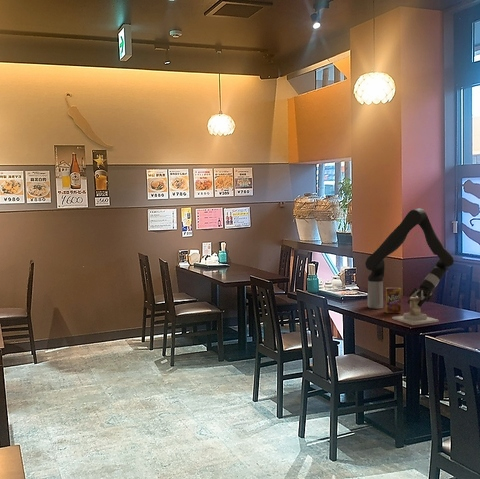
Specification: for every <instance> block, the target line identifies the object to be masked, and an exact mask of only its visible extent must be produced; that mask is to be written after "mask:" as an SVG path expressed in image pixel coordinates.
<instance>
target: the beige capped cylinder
mask: <svg viewBox="0 0 480 479" xmlns="http://www.w3.org/2000/svg"><path fill="white" fill-rule="evenodd" d="M409 299H410V304H409V313H410V315H413V316H417V315H421V313H422V312H421V311H422V309H421V307H422V306H421V307H419V306H418V305H417V304H418V303H419V301H420V300H422V298H421V297H415V296H414V297H410V296H409Z"/></svg>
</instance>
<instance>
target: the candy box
mask: <svg viewBox="0 0 480 479" xmlns="http://www.w3.org/2000/svg"><path fill="white" fill-rule="evenodd" d="M401 299H402V288H401V287H385V309H384V310H385V314H386V313H387V314H389V313H390V314H401V313H402V312H401V311H402V306H401V305H402V300H401Z"/></svg>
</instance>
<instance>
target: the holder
mask: <svg viewBox="0 0 480 479" xmlns="http://www.w3.org/2000/svg"><path fill="white" fill-rule="evenodd" d="M391 319H392V320H394V321H398V322H400V323H405V324H407V325H411V326H418V325H425V324H432V323H439V319H437V318H433V317H430V316H428V315H427V314H426V313H422V312H421V315H417V316H413V315H410V312H404V313H403V315H398V316H397V315H396V316H392V317H391Z"/></svg>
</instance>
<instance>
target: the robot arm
mask: <svg viewBox="0 0 480 479" xmlns="http://www.w3.org/2000/svg"><path fill="white" fill-rule="evenodd" d="M416 226H419V227H420V228H421V230H422V232H423V235H424V238H425V241H426V244H427V245H428V246H427V247H429V249H430V251H431V253H432V254H433V255H435V256H437V257H438V258H439V259H438V260H437V262H436V264H435V265H434V267H433V268H432V269H431V271H430V272H429V273H428V274H427V275H426V277H425V278H424V279H423V280H422V282H421V283H420V284H419V288H418V289H417V288H416V287H415V288H413V290H412V291H411V292H410V293H409V295H408V296H409V299H408V300H407V304H408V305H410V297H419V298H421V300H420V301H419V303H418V304H417V305H418V306H419V307H422V306H423V304H424V303H425V302H426V303H428V302H429V301H430V300H431V298H432V296H433V295H434V294H433V291H434V290H435V288H436V287H437V286H438V285H439V282H440V281H441V279H443V276H444V275H445V272H446V271H447V270H448V269H449V268H450V267H452V266H453V265H454V261H455V260H454V258H453V256H452V254H451V253H450V252H449V251H448V249H446V248H445V247H444V245H443V243H442V242H441V241H440V239H439V237H438V236H437V234H436V232H435V230H434V228H433V225H432V223H431V221H430V218H429V217H428V215H427V212H426V211H425V210H424V209H423V208H418V207H417V208H413V209H410V211H409V212H407V214H406V215H405V216H404V217H403V219H402V221H401V222H400V224H398V226H396V228H395V229H394V230H392V232H391V233H390V234H389V235H388V236H387V237H386V239H384V240H383V242H382V243H381V244H380V245H379V246H378V247H377V249H376V250H375V251H374V252H373V253H372V254H370V255H369V256H368V257H367V258H366V260H365V264H364V265H365V267H366V269H367V270H368V271H371V273H370V274H369V275H368V277H367V295H366V296H367V307H368V308H369V309H383V308H384V285H383V284H384V278H385V267H386V266H385V265H386V264H385V259H386V258H387V257H388V256H390V255H391V254H392V253H394V252H395V251H397V250H398V249H399V248H400V247H401V246H402V245H403V244H404V242H405V241H406V239H407V236H408V234H409V233H410V232H411V231H412V230H413V229H414V228H415V227H416Z"/></svg>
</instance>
